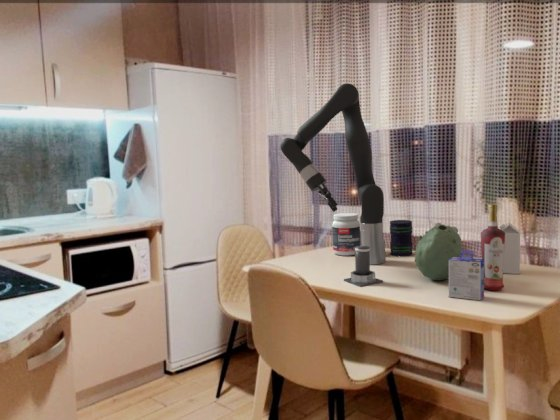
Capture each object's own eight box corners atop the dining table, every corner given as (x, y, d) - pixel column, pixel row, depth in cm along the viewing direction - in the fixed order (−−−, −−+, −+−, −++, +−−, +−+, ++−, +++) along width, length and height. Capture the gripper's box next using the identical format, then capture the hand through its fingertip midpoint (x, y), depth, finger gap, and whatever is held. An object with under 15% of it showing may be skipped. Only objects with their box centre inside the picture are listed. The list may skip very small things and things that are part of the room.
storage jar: (415, 252, 220) (415, 220, 218) (408, 257, 212) (408, 223, 210) (394, 251, 225) (393, 219, 224) (387, 255, 217) (386, 222, 215)
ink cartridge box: (484, 296, 152) (484, 251, 151) (481, 301, 148) (481, 254, 146) (452, 292, 158) (451, 249, 156) (448, 297, 153) (447, 252, 151)
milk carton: (519, 269, 182) (519, 219, 180) (519, 274, 175) (520, 222, 173) (498, 268, 185) (498, 219, 183) (498, 273, 178) (498, 222, 176)
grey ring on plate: (365, 276, 183) (365, 268, 183) (382, 282, 174) (382, 273, 174) (343, 280, 179) (343, 272, 178) (359, 286, 170) (359, 277, 169)
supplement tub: (341, 257, 218) (339, 217, 215) (328, 252, 229) (326, 214, 227) (366, 254, 222) (364, 214, 220) (352, 249, 234) (350, 212, 232)
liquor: (485, 292, 156) (485, 206, 153) (477, 286, 163) (477, 204, 160) (508, 291, 156) (509, 205, 152) (499, 285, 163) (499, 203, 160)
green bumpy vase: (405, 282, 173) (404, 226, 170) (430, 271, 186) (429, 219, 184) (448, 289, 162) (447, 230, 160) (471, 276, 175) (470, 222, 173)
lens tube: (363, 277, 180) (363, 245, 179) (373, 280, 175) (373, 247, 174) (352, 279, 178) (351, 246, 176) (361, 282, 173) (361, 248, 172)
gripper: (319, 167, 194) (343, 199, 191) (320, 176, 208) (343, 206, 204) (304, 178, 194) (327, 210, 191) (306, 186, 208) (328, 217, 204)
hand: (335, 208), depth 197 cm, fingers open, 8 cm apart
